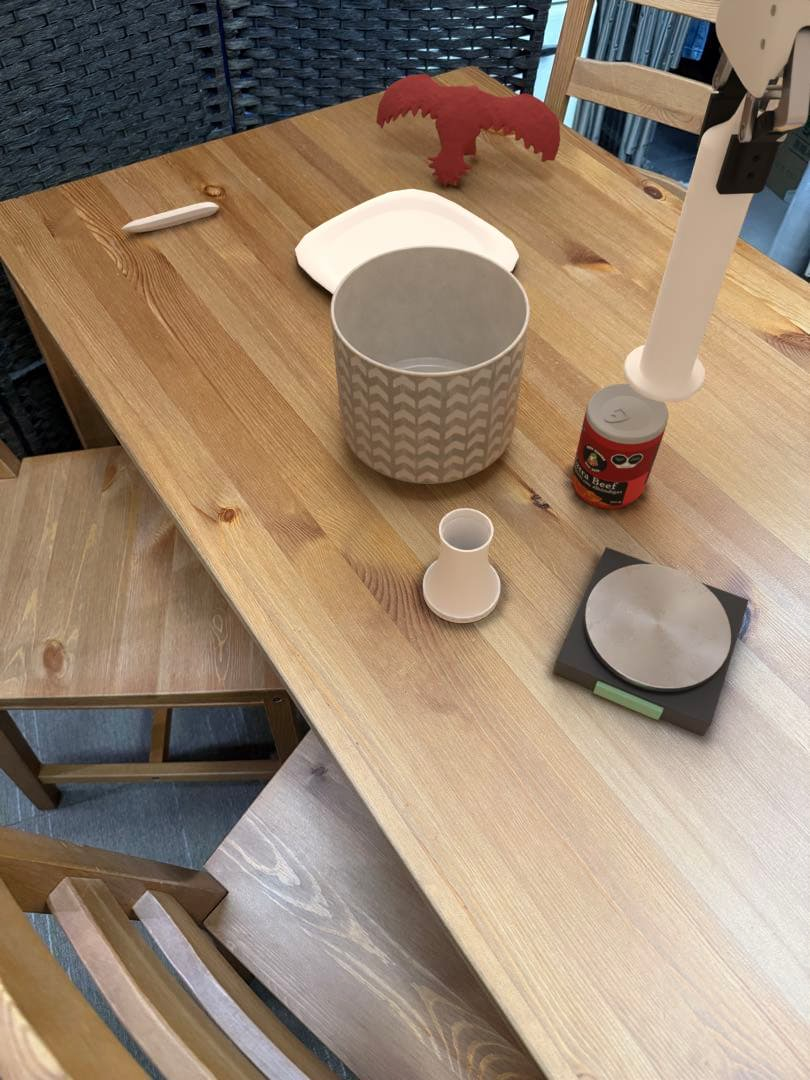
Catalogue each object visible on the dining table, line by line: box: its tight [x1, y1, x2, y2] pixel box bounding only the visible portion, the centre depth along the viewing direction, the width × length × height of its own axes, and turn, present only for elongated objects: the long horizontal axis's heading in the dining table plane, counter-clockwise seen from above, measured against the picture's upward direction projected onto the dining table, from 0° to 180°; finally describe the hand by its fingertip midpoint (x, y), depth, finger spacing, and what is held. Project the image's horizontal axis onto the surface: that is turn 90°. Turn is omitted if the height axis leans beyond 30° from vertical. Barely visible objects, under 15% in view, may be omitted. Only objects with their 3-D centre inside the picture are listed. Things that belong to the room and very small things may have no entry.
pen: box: [120, 201, 220, 233], centre depth 119 cm, size 2×14×2 cm, turn 116°
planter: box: [329, 245, 531, 485], centre depth 89 cm, size 19×19×18 cm
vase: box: [422, 507, 501, 624], centre depth 80 cm, size 8×8×10 cm
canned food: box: [571, 383, 669, 510], centre depth 87 cm, size 8×8×11 cm
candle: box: [622, 93, 754, 403], centre depth 66 cm, size 7×7×25 cm
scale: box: [552, 546, 749, 737], centre depth 79 cm, size 14×14×4 cm
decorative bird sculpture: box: [375, 73, 561, 188], centre depth 125 cm, size 28×9×15 cm
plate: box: [294, 188, 520, 296], centre depth 114 cm, size 25×25×2 cm
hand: (728, 167), depth 60 cm, fingers closed on candle, 4 cm apart
